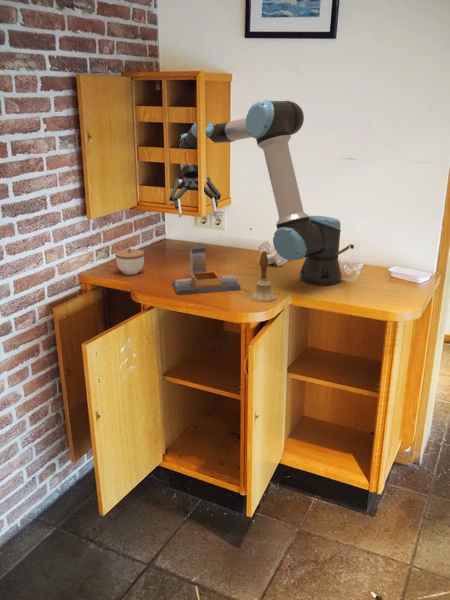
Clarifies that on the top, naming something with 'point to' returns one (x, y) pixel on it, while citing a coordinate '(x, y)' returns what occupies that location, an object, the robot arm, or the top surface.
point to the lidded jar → (130, 260)
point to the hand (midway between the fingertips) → (198, 214)
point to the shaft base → (205, 283)
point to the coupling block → (197, 259)
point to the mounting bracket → (271, 254)
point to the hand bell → (263, 283)
